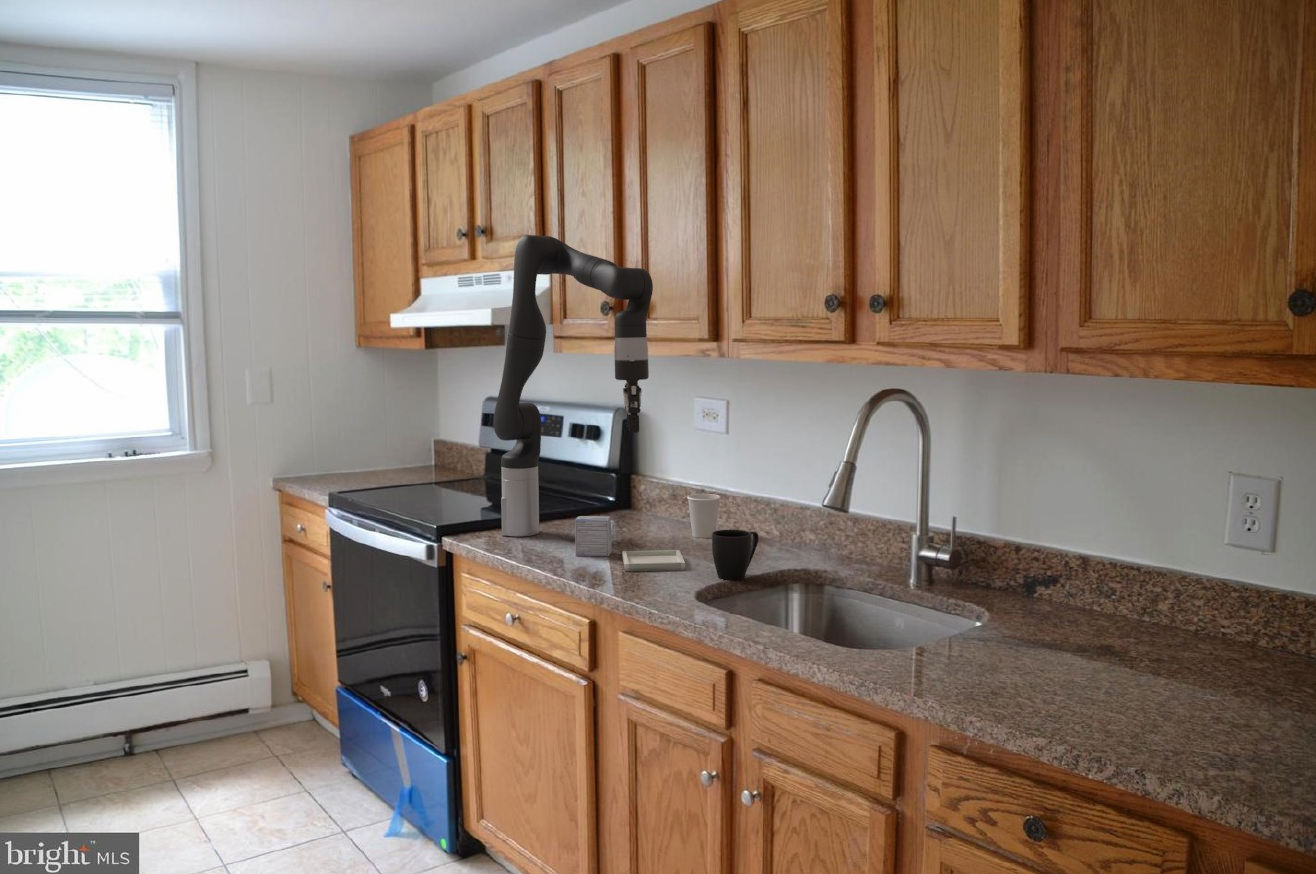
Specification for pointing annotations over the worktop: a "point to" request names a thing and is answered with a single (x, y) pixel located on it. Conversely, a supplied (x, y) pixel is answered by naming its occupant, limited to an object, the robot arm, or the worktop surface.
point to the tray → (653, 560)
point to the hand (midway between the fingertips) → (633, 430)
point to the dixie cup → (703, 514)
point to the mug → (733, 552)
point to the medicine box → (593, 536)
